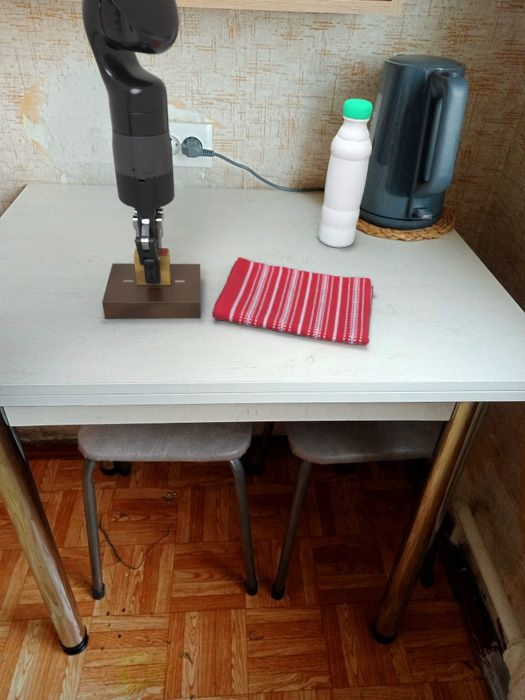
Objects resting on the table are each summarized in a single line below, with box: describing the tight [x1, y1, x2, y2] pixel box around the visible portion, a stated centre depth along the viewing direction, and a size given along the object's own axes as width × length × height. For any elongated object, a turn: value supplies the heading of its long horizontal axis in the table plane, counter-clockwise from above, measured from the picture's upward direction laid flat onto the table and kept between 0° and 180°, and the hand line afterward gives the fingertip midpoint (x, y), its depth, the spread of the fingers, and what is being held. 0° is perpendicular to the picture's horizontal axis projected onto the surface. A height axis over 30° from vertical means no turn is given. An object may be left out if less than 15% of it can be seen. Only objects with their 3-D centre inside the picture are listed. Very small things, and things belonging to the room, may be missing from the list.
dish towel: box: [211, 256, 374, 346], centre depth 80 cm, size 17×24×3 cm
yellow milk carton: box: [133, 247, 171, 285], centre depth 76 cm, size 5×2×5 cm, turn 95°
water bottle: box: [317, 98, 373, 249], centre depth 91 cm, size 7×7×25 cm
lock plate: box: [101, 262, 202, 320], centre depth 79 cm, size 14×11×3 cm
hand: (153, 277), depth 77 cm, fingers closed on yellow milk carton, 2 cm apart
